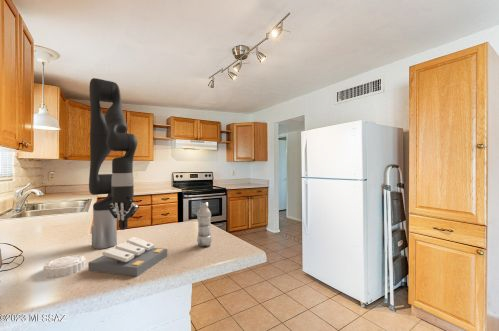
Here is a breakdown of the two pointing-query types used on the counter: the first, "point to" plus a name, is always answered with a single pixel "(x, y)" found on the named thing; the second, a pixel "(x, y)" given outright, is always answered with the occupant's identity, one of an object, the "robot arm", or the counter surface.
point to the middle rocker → (130, 248)
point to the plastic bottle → (204, 225)
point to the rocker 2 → (140, 243)
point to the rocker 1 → (118, 254)
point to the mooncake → (64, 266)
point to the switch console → (128, 263)
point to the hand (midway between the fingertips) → (123, 229)
